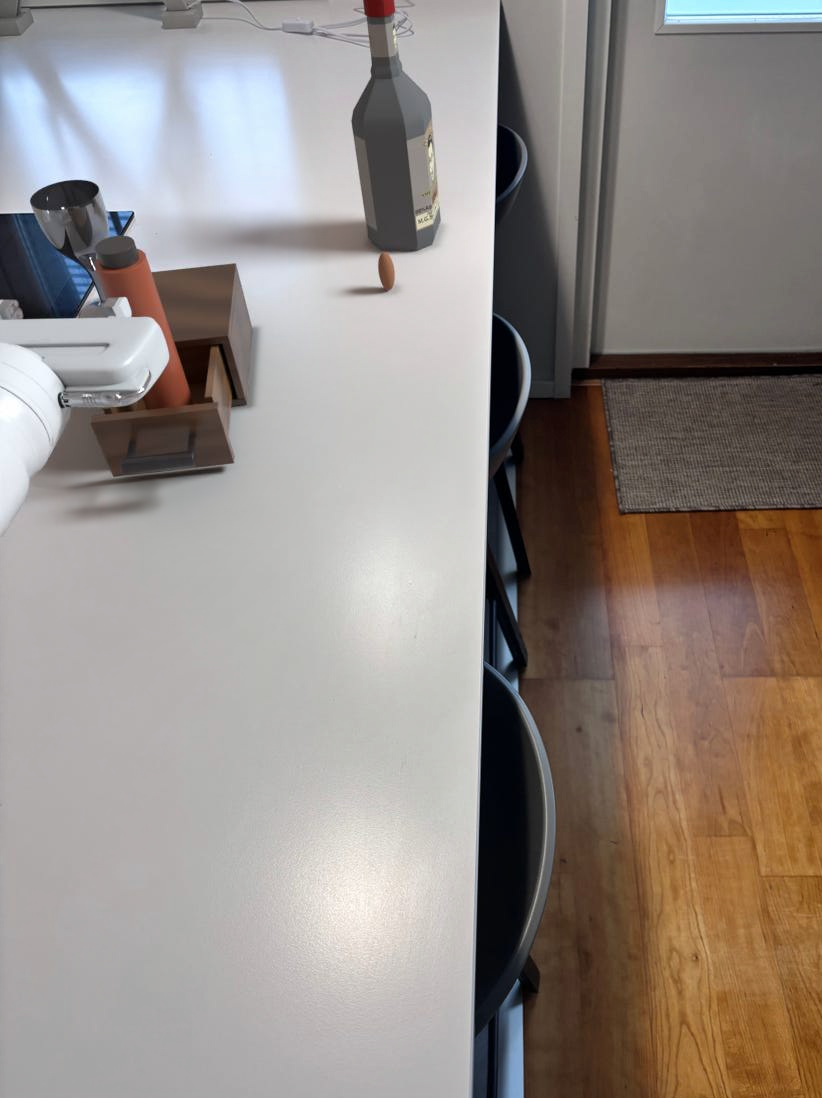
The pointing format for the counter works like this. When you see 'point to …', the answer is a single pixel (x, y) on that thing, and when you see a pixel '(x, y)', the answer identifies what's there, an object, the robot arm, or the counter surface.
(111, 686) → the counter surface
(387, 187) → the liquor
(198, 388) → the drawer
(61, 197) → the wine glass
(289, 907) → the counter surface
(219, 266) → the cabinet
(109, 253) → the pepper mill
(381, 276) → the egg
